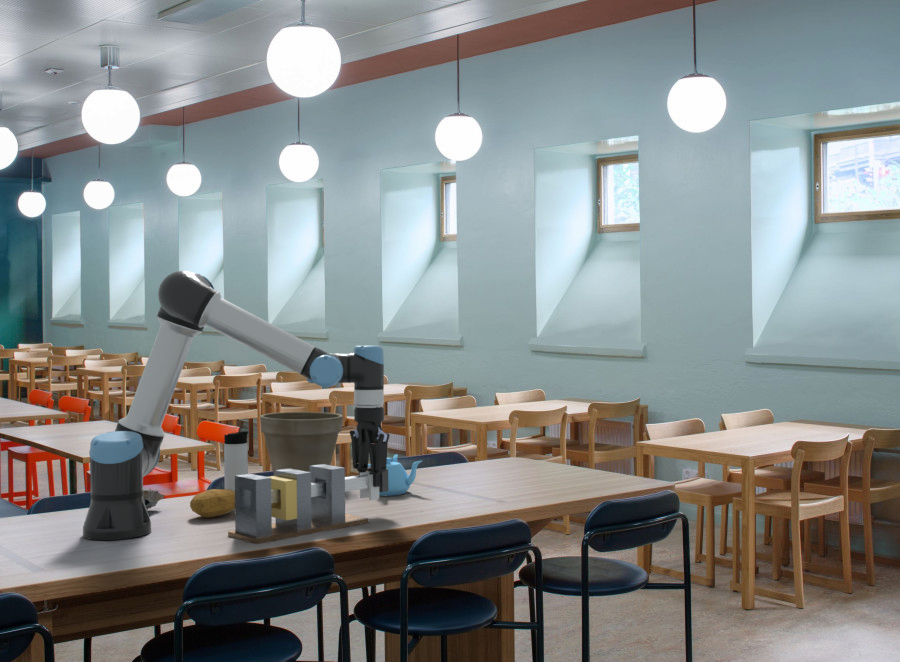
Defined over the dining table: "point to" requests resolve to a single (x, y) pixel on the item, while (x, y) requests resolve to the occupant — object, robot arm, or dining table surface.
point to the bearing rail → (311, 511)
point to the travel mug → (235, 457)
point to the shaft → (350, 485)
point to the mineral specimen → (151, 497)
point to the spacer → (285, 498)
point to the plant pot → (300, 438)
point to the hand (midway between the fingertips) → (369, 498)
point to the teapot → (398, 477)
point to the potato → (213, 502)
